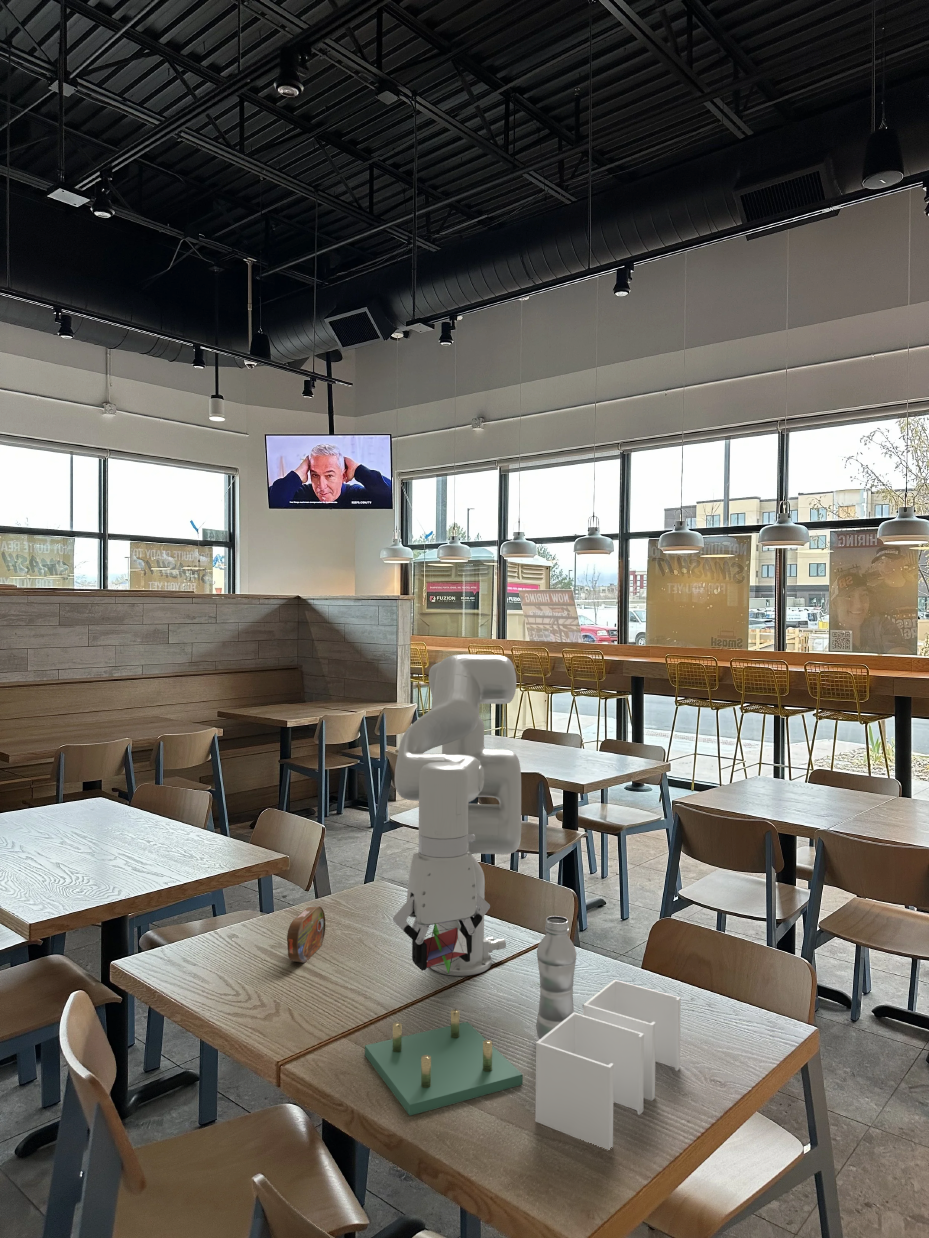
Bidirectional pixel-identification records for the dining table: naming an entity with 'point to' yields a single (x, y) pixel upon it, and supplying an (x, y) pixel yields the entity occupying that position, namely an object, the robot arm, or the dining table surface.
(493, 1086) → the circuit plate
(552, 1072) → the white u-channel brackets
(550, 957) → the plastic bottle
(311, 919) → the tin
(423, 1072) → the brass standoffs
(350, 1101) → the dining table surface
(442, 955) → the geometric puzzle
